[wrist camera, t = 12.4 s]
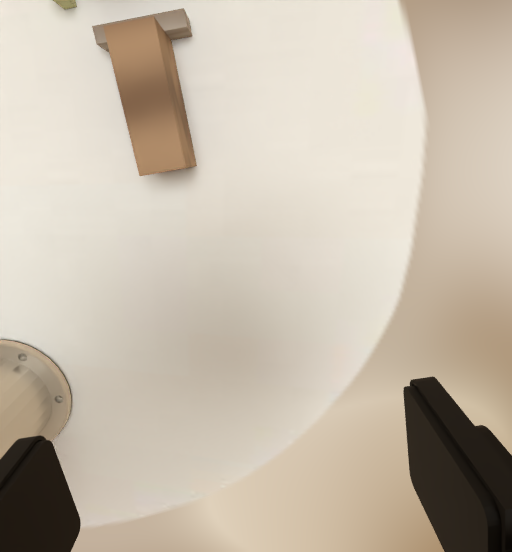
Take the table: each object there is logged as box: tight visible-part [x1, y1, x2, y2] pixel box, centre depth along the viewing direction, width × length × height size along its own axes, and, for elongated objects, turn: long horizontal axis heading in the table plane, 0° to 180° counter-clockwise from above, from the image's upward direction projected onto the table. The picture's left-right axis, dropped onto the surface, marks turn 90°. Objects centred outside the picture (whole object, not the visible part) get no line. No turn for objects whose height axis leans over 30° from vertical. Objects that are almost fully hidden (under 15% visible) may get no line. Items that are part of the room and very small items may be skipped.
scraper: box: [92, 8, 197, 176], centre depth 32 cm, size 11×7×6 cm, turn 10°
